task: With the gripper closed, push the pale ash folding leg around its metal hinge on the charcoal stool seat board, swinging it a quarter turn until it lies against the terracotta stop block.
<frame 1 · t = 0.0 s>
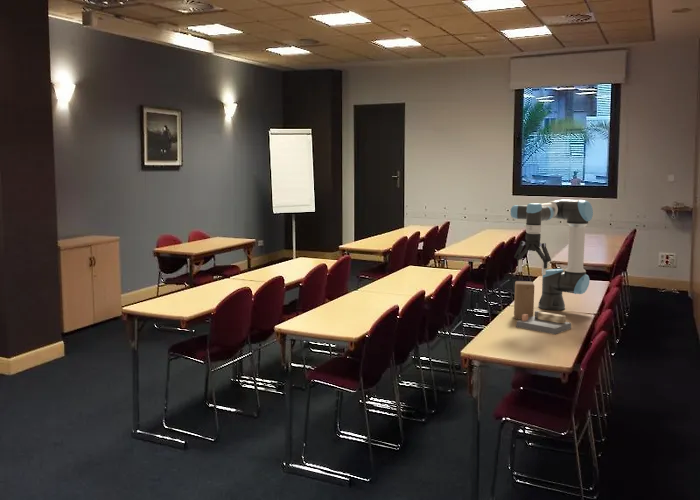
hand: (531, 273, 347), 28 cm above the table, tool pointing down, fingers open, 13 cm apart
stool seat: (543, 327, 346), on the table
wooden block: (523, 318, 368), on the table
folding leg: (549, 317, 348), point 5 cm above the table, hinge at 90.0°
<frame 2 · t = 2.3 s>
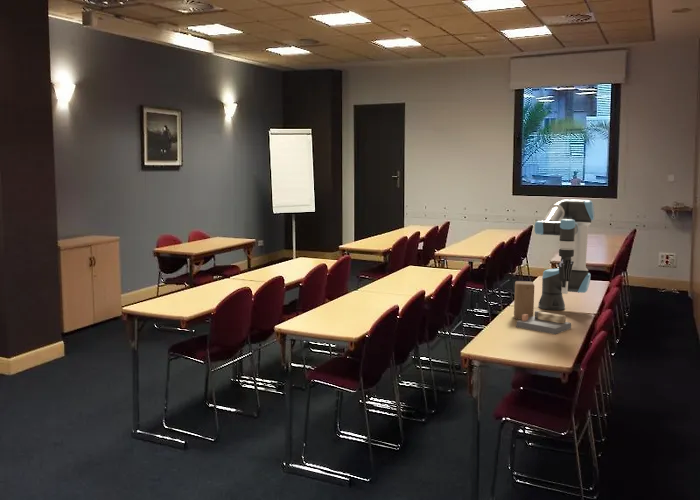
hand: (564, 293, 348), 17 cm above the table, tool pointing down, fingers closed
nothing on the table moved.
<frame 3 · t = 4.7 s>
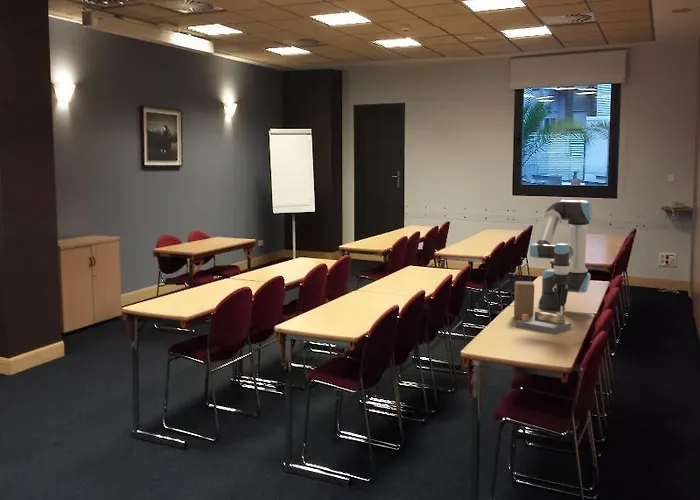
hand: (559, 317, 346), 5 cm above the table, tool pointing down, fingers closed
folding leg: (549, 317, 348), point 5 cm above the table, hinge at 88.0°, touching gripper
everything else where it was.
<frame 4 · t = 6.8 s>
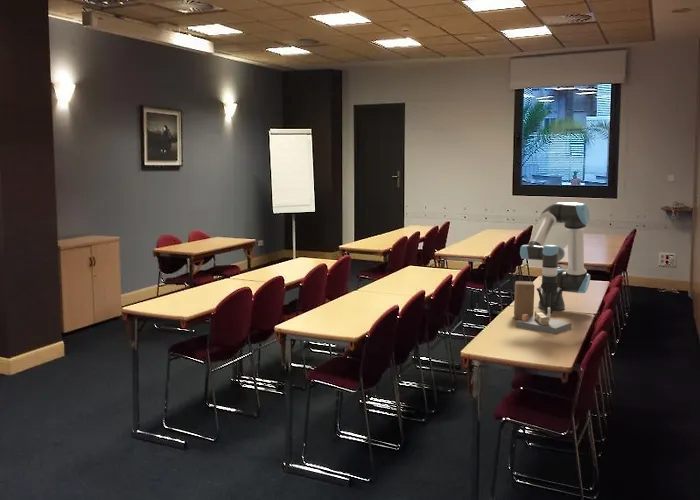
hand: (548, 320, 341), 5 cm above the table, tool pointing down, fingers closed
folding leg: (541, 317, 346), point 5 cm above the table, hinge at 43.1°, touching gripper
everything else where it was.
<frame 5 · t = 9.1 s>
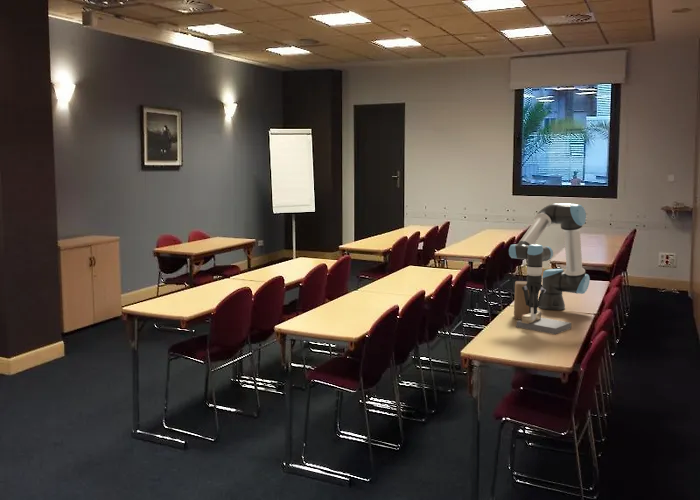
hand: (532, 319, 342), 5 cm above the table, tool pointing down, fingers closed
folding leg: (532, 317, 347), point 5 cm above the table, hinge at 3.9°, touching gripper
everything else where it was.
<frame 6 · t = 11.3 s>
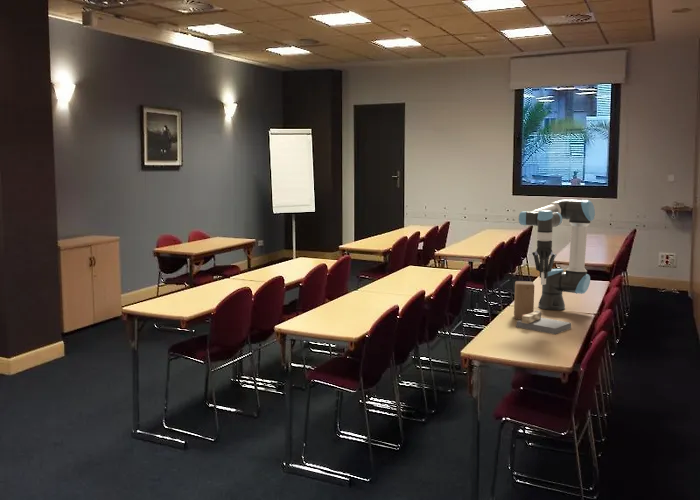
hand: (543, 284, 348), 22 cm above the table, tool pointing down, fingers closed
folding leg: (532, 317, 347), point 5 cm above the table, hinge at 3.9°
everything else where it was.
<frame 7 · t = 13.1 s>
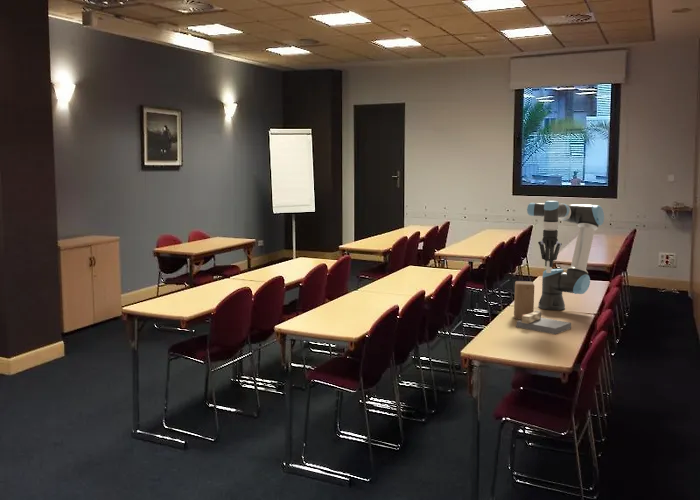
hand: (548, 272, 359), 26 cm above the table, tool pointing down, fingers closed
nothing on the table moved.
at the end: folding leg at +4° (first picture: +90°) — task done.
